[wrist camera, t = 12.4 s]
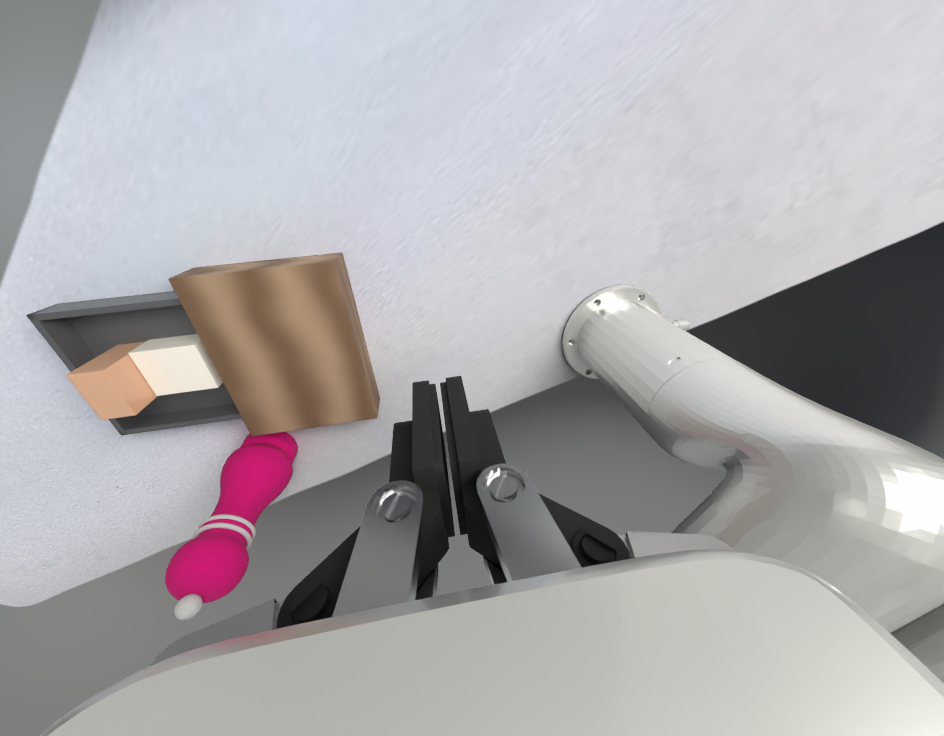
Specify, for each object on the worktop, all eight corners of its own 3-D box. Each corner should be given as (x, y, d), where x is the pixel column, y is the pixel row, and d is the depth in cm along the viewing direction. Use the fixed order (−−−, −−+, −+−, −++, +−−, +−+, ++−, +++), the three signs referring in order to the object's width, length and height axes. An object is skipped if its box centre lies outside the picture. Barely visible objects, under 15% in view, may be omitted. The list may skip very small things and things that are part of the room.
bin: (200, 288, 34) (182, 297, 31) (256, 402, 41) (245, 417, 38) (56, 303, 32) (26, 315, 30) (140, 418, 40) (121, 435, 37)
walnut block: (342, 252, 34) (334, 261, 30) (379, 398, 43) (377, 417, 40) (194, 267, 33) (168, 279, 29) (265, 414, 42) (252, 436, 38)
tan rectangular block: (103, 370, 30) (65, 375, 29) (135, 415, 32) (101, 419, 32) (148, 341, 35) (117, 344, 35) (174, 381, 37) (144, 385, 37)
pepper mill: (298, 424, 43) (223, 589, 26) (304, 465, 47) (241, 635, 30) (235, 423, 42) (112, 598, 25) (246, 466, 45) (144, 645, 28)
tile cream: (210, 332, 35) (194, 344, 33) (231, 373, 38) (218, 387, 35) (149, 339, 35) (127, 352, 32) (174, 380, 37) (156, 395, 35)
